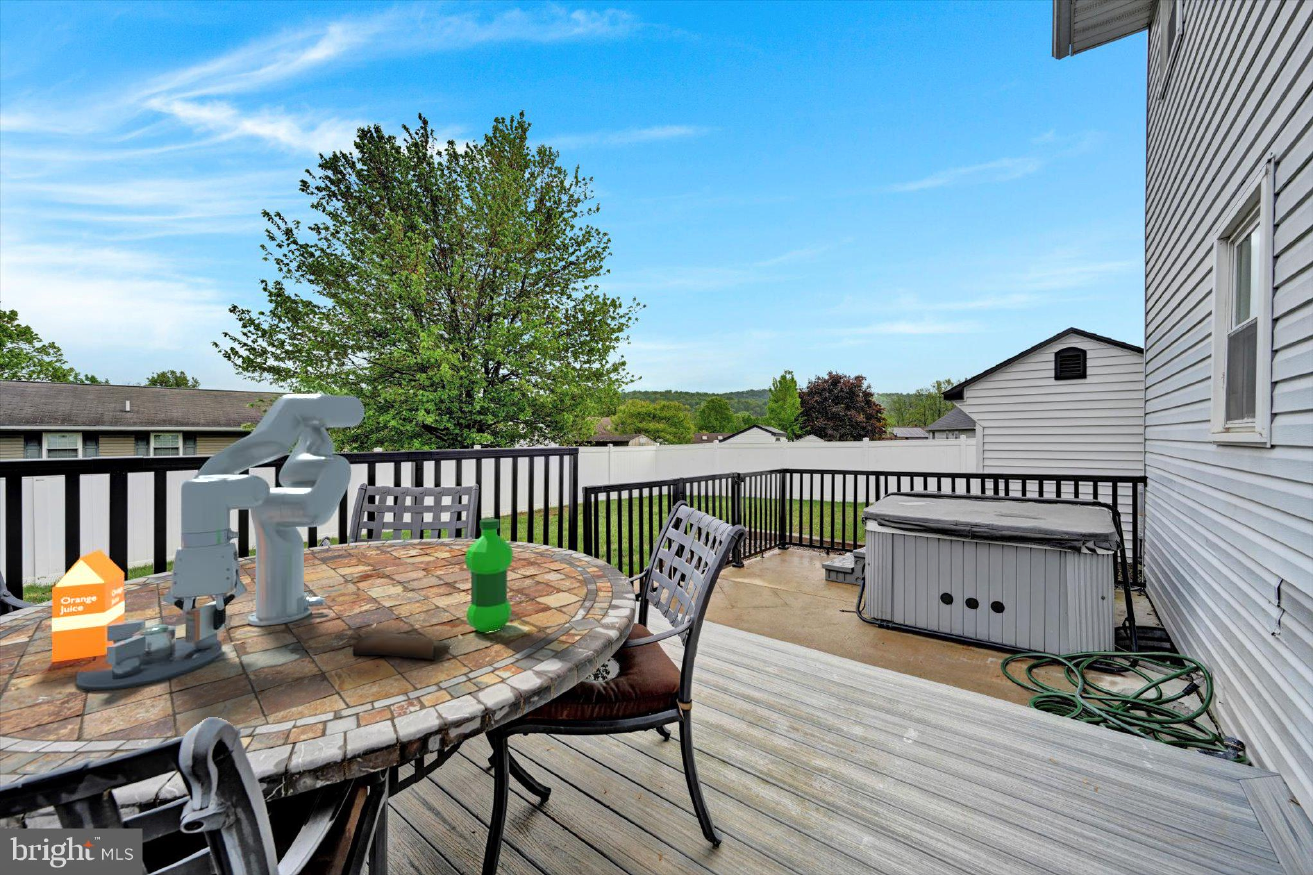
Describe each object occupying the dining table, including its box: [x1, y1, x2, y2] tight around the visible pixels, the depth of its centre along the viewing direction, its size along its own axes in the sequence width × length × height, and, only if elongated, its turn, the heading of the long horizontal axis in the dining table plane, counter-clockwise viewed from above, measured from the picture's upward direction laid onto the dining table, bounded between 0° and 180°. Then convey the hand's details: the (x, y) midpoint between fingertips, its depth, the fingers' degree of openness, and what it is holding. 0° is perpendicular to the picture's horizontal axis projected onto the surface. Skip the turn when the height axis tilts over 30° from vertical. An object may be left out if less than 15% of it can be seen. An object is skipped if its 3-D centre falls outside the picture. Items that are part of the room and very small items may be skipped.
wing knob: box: [185, 600, 225, 649], centre depth 106 cm, size 7×4×8 cm, turn 0°
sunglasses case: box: [351, 632, 452, 662], centre depth 107 cm, size 18×7×7 cm, turn 82°
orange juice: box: [51, 549, 125, 663], centre depth 107 cm, size 8×9×20 cm
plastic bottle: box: [464, 518, 514, 632], centre depth 119 cm, size 10×10×25 cm
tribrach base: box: [76, 619, 223, 692], centre depth 100 cm, size 20×20×8 cm
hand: (206, 628), depth 106 cm, fingers closed on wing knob, 3 cm apart
